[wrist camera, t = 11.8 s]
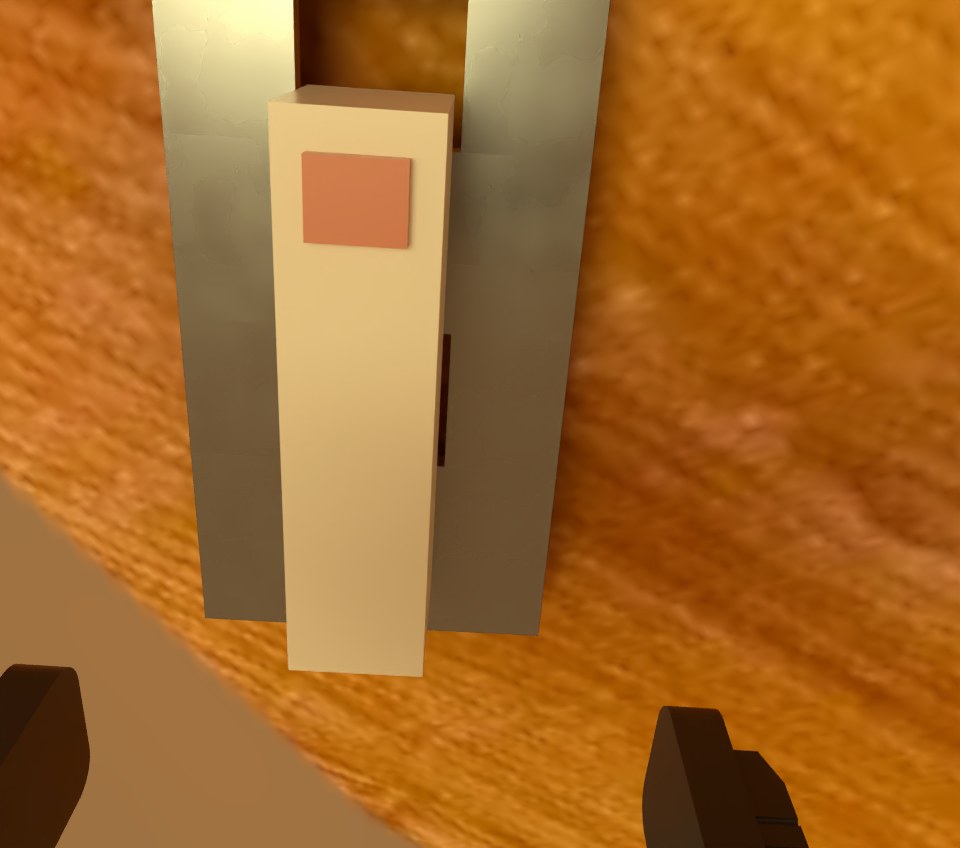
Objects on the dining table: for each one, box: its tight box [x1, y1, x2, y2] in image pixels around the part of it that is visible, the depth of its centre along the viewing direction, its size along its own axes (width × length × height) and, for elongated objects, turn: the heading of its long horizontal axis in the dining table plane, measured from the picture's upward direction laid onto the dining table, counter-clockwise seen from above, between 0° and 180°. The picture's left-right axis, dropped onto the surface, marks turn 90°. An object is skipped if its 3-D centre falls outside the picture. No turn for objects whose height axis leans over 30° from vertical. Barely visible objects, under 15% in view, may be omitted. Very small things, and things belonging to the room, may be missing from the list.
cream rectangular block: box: [267, 85, 455, 677], centre depth 26 cm, size 16×4×8 cm, turn 176°
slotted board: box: [152, 0, 610, 636], centre depth 28 cm, size 24×12×4 cm, turn 176°
